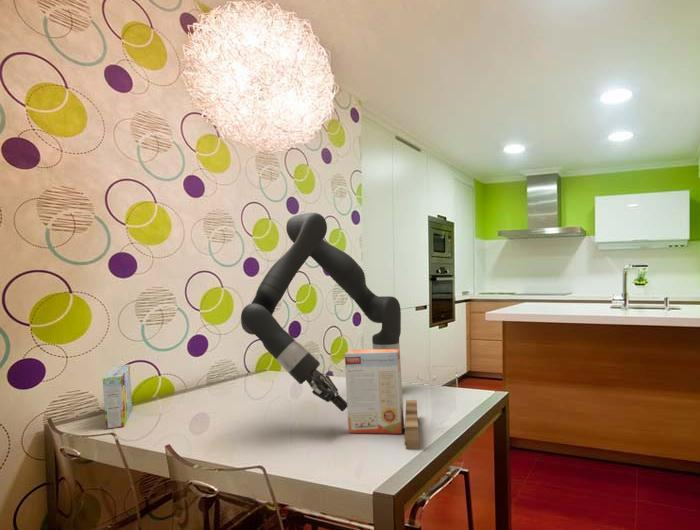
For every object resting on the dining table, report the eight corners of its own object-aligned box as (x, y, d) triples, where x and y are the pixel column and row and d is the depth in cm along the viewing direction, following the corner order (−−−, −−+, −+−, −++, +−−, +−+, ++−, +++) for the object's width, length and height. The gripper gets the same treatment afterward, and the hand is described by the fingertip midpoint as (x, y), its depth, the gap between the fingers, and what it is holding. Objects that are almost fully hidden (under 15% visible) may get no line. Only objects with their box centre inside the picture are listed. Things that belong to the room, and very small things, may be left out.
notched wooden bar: (405, 417, 133) (404, 400, 133) (417, 417, 133) (416, 399, 133) (404, 448, 109) (403, 427, 110) (419, 448, 109) (418, 427, 109)
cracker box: (404, 427, 125) (400, 348, 126) (402, 434, 119) (397, 351, 120) (352, 426, 128) (349, 348, 129) (347, 433, 122) (344, 352, 123)
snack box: (114, 411, 155) (112, 365, 156) (132, 409, 157) (131, 363, 158) (103, 430, 135) (101, 377, 136) (125, 427, 137) (123, 375, 138)
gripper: (301, 355, 118) (352, 404, 116) (312, 347, 132) (358, 391, 130) (281, 377, 119) (331, 426, 117) (294, 367, 132) (339, 411, 130)
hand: (345, 408), depth 123 cm, fingers closed
